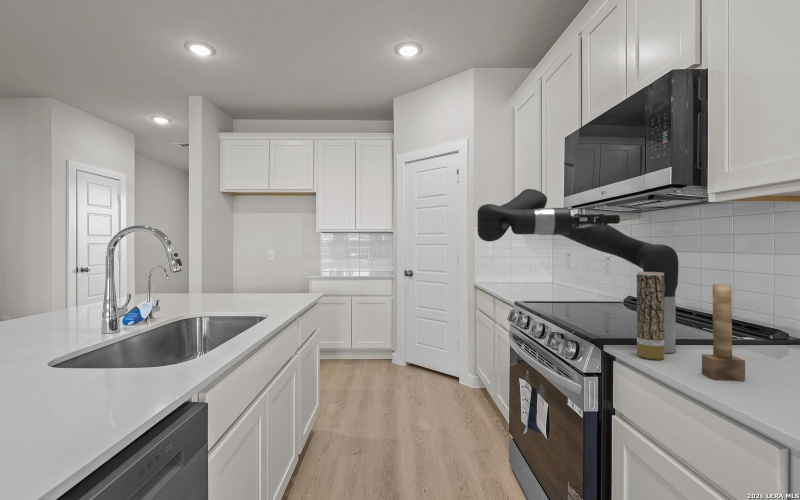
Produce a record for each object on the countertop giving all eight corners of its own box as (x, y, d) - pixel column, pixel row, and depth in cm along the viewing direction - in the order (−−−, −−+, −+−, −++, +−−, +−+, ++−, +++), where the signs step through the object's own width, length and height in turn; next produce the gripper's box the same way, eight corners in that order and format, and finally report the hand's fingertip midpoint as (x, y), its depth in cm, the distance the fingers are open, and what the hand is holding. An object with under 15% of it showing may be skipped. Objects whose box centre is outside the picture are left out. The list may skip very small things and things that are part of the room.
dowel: (710, 354, 97) (709, 284, 98) (725, 355, 97) (725, 284, 97) (719, 358, 94) (718, 285, 94) (735, 359, 93) (734, 285, 93)
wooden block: (712, 379, 94) (712, 359, 94) (701, 373, 98) (701, 354, 98) (745, 380, 93) (745, 360, 93) (732, 374, 97) (732, 355, 97)
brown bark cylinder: (668, 361, 109) (668, 273, 108) (642, 359, 110) (642, 273, 110) (657, 354, 115) (657, 271, 115) (633, 353, 117) (633, 271, 116)
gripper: (556, 205, 99) (623, 203, 97) (544, 210, 113) (603, 208, 111) (556, 234, 99) (623, 233, 97) (545, 235, 114) (603, 234, 111)
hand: (612, 220), depth 104 cm, fingers open, 8 cm apart
